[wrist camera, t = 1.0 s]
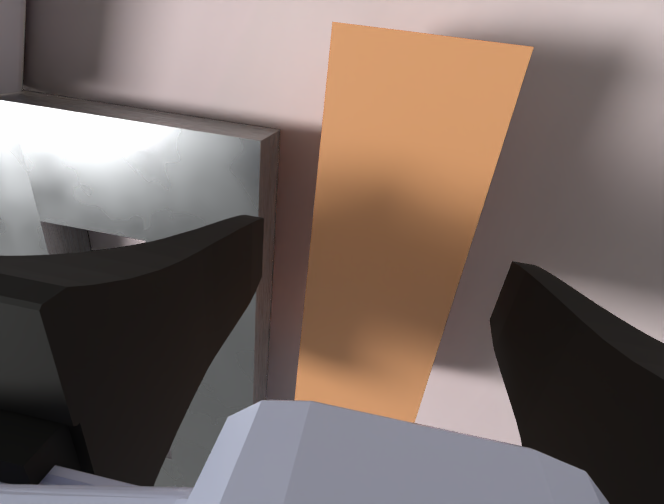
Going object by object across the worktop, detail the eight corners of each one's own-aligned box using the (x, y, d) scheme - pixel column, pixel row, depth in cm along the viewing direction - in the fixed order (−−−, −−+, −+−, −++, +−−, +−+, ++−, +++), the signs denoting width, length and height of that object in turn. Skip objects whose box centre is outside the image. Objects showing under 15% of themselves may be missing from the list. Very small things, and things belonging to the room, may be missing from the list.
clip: (398, 364, 17) (397, 476, 12) (318, 348, 17) (289, 451, 12) (481, 50, 11) (533, 46, 7) (359, 35, 11) (332, 21, 7)
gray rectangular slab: (261, 487, 22) (249, 524, 20) (69, 440, 23) (41, 472, 21) (279, 129, 13) (260, 140, 11) (-41, 80, 14) (-105, 83, 12)
